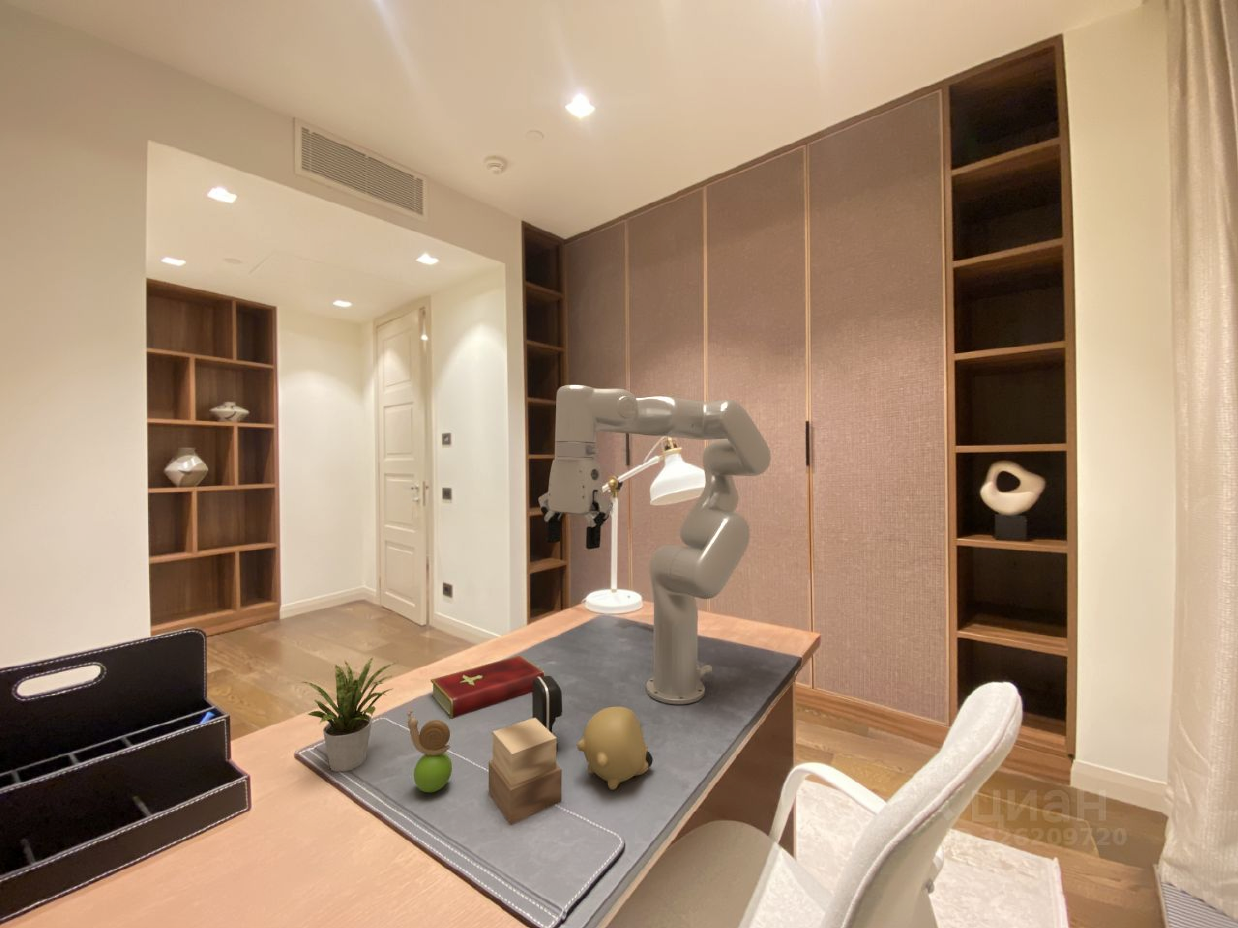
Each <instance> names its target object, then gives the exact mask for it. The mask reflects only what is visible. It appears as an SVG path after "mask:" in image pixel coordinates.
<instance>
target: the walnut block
mask: <svg viewBox="0 0 1238 928" xmlns="http://www.w3.org/2000/svg"><path fill="white" fill-rule="evenodd" d="M562 771H563V770H562V768H561V767H560V766H559V765H558V763H556V769H553V770H551V771H548V772H546V773H544V774H541V775H539V776H536V777H534V778H531V779H529V780H526V781H524V782H522V783H519V784H517V785H514V786H511V785H510V784H509V782H508V781H507V780H506V778H505V777H504V776H503V774H502V773H501V772H500V770H499V769H498V768H497V766H496V765H495V764H494V763H493V759H491V760H489V761H488V794H489V796H490V797H491V798H492V800H493V802H494V803H495V805H496V806H497V808H498V809H499V810H500V813H501V814H502V815H503V816H504V818H505V819H506V821H507V822H508V824H509V825H510V826H511V825H513V824H516V823H519V822H520V821H522V820H525V819H526V818H529V817H531V816H533V815H535V814H538V813H539V812H542V811H544V810H547V809H548V808H551V807H552V806H555V805H556V804H559V803H561V802H562V782H563V781H562V779H563V778H562V774H563V773H562Z"/></svg>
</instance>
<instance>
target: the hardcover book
mask: <svg viewBox="0 0 1238 928" xmlns="http://www.w3.org/2000/svg"><path fill="white" fill-rule="evenodd" d="M543 676H547V675H546V671H544V670H543V669H541V667H539V666H537V665H536V664H534V662H531V661H529V660H528V659H527V658H525V657H524V656H523V655H516V656H512V657H509V658H505V659H502V660H498V661H493V662H491V663H486V664H482V665H479V666H475V667H472V668H468V669H464V670H460V671H458V672H457V671H456V672H453V673H450V674H445V675H442V676H438V677H436V678H435V677H434V678H431V679H430V682H431V683H432V689H433V690H432V692H433V693H432V697H433V698H434V699H435V700H436V701H437V702H438V703H439V704H440V706H441V707H442V708H443V709H444V710H445V712H446V713H447V714H449V719H450V720H451V719H454V718H457V717H460V716H464V715H466V714H469V713H472V712H475V711H476V712H477V711H478V710H482V709H485V708H487V707H491V706H494V705H497V704H500V703H503V702H506V701H509V700H512V699H515V698H519V697H521V696H525V695H528V694H532V685H533V679H534V678H537V677H543Z"/></svg>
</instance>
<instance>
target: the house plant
mask: <svg viewBox="0 0 1238 928" xmlns="http://www.w3.org/2000/svg"><path fill="white" fill-rule="evenodd" d="M373 658H374V657H371V658H370V659H369V660H368V661H367V663H366V664H365V665H364V667H363V669H362V671H361V673H360V674H359V678H355V679H354V672H353V671H352V668H351V666H350V665H349V663H348V662H347V661H346V660H344V664H345V668H346V671H347V676H346V673H345V671H344V669H342V668H341V667H340V666H339V665H338V664H334V665H335V666H334V674H335V675H334V677H335V684H336V686H335V687H336V704H335V702H334V701H333V699H332V697H331V696H329V694H328V692H326V691H325V690H324V689H323V688H321V687H320V686H318V685H317V684H314V683H311V682H309V681H301V683H304V684H306V685H308V686H310V687H312V688H313V689H314V690H316V691H317V693H316V695H318V696H319V695H320V696H321V697H323V698H324V700H325V701H326V702H327V703H328V704H329V706H331V708H332V709H333V710H334V711H333V710H332V709H330V708H329V707H328V706H327V705H326V704H324V703H323V702H322V701H320V700H318V699H314V702H315V703H316V704H317V706H318V707H319V709H320V710H321V711H320V710H315V711H311V712H309V713H307V715H308V716H311V717H317V718H319V719H321V720H320V721H319V723H318V725H320V724H322V723H324V722H328V723H327V724H326V725H325V726H324V727H323V729H322V732H323V738H324V743H325V747H326V748H325V749H326V753H327V758H328V764H329V768H331V769H330V770H331V771H333V772H347V771H351V770H355V769H356V768H358V767H359V766H361V765H362V764H364V763H365V761H366V757H367V751H368V747H369V746H368V745H369V741H370V735H371V734H370V733H371V728H372V724H373V723H372V722H373V719H372V716H373V714H374V713H375V711H376V707H375V706H374V704H375V703H376V702H377V700H379V698H381V697H382V696H383V695H384V696H386V693H387V692H389V691H392V690H393V688H389V689H386V690H383V691H382V692H374V690H375V689H376V688H377V687H378V686H379V685H381V684H384V683H383V681H384V680H386V679H389V678H391V677H392V675H388V676H387V675H386V676H385V677H383V678H381V679H379V680H378V681H374V680H375V679H376V678H377V677H378V676H379V675H380V674H381V673H382V672H383V671H385V670H386V669H387V668H389V667H391V666H395V665H397V664H398V662H394V663H390V664H386V665H384V666H383V667H381V668H380V669H378V670H377V671H375V672H374V673H373V675H371V677H370V678H369V679H368V681H367V683H366V684H365V682H366V678H367V676H368V674H369V671H370V669H371V663H372V662H373ZM364 684H365V686H364ZM371 685H373V687H371V689H370V691H369V693H368V694H367V696H366V697H365V698H364V699H363V696H364V695H365V693H366V692H367V691H368V689H369V687H370V686H371ZM363 686H364V688H363ZM374 697H375V698H374ZM373 698H374V699H373ZM362 699H363V700H362ZM371 699H373V700H372V701H371V702H370V703H369V705H368V707H366V708H365V709H364V710H362V709H363V708H364V706H365V705H366V704H367V703H368V702H369V701H370V700H371ZM361 700H362V701H361ZM360 702H361V703H360ZM335 712H336V713H335ZM367 713H368V714H370V715H368V714H367Z"/></svg>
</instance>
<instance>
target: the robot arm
mask: <svg viewBox="0 0 1238 928" xmlns="http://www.w3.org/2000/svg"><path fill="white" fill-rule="evenodd" d="M555 399H556V402H555V403H556V408H555V409H556V410H555V437H554V440H555V441H554V459H553V460H552V463H551V467H550V473H549V480H548V481H549V482H548V491H547V492H546V493H544V494H542V495H541V496H539V497H538V503H539V506H540V510H541V511H540V512H541V513H542V515H543V517H544V518H543V519H544V521H545V523H546V543H548V544H554V543H559V542H561V536H562V534H561V533H562V532H561V531H562V522H561V520H559V519H560V518H561V516H562V515H563V514H567V515H576V516H584V518H585V520H586V521H587V523H588V524H589V526H586V534H585V535H586V538H585V541H586V542H585V548H586V549H587V550H595V549H599V548H600V546H601V535H602V534H601V533H602V532H601V529H602V528H601V527H602V526H604V525H605V522H606V520H608V518H609V517H610V514H611V511H612V509H613V507H614V503H613V502H612V501H611V500H609V498H607V497H606V496H604V494H603V492H604V491H603V490H604V489H603V477H602V471H601V465H600V461H599V460H596V455H598V454H599V453H600V448H599V447H598V446H597V432H606V433H619V434H632V435H642V436H651V437H667V438H681V439H690V440H699V441H704V440H705V441H706V440H707V441H708V440H709V441H711V440H714V441H712V442H709V443H708V444H707V445H706V447H705V448H704V450H703V453H702V466H703V470H704V477H705V478H704V479H705V484H704V488H703V490H702V493H701V494H700V496H699V497H698V499H697V500H696V502H695V503H694V505H693V506H692V507H691V509H690V510H689V512H688V513H687V515H686V516H685V518H684V519H683V521H682V523H681V525H680V528H679V537H680V540H681V541H682V542H683V544H684V545H686V546H684V545H679V544H665V545H662V546H659V547H658V548H657V549H656V550H655V551H654V552H653V553H652V556H651V557H650V559H649V566H648V567H649V568H648V569H649V577H650V583H651V589H652V597H653V600H652V601H653V654H652V655H653V667H652V668H653V672H652V673H653V674H652V675H653V676H652V677H651V678H649V679H648V681H647V682H646V685H645V686H646V687H645V689H646V693H647V694H648V696H650V697H651V698H652V699H654V700H656V701H658V702H661V703H665V704H668V705H669V704H671V705H687V704H693V703H695V702H698V701H699V700H701V699H703V697H704V695H705V691H706V690H705V685H704V684H703V682H702V680H701V679H703V678H704V676H705V677H706V676H708V675H712V674H713V667H712V666H711V665H709V664H706V665H703V666H702V667H700V665H699V664H698V641H699V640H698V636H699V635H698V625H699V623H698V621H699V611H698V605H697V600H696V598H698V599H702V600H711V599H713V598H715V597H717V596H718V595H719V594H720V593H721V592H722V591H723V589H724V588H725V587H726V585H727V583H728V582H729V580H730V578H731V577H732V575H733V573H734V572H735V570H736V568H737V566H738V565H739V563H740V561H741V560H742V558H743V556H744V555H745V553H746V551H747V549H748V546H749V543H750V536H751V535H750V534H751V530H750V525H749V523H748V521H747V520H746V518H745V517H744V515H742V514H740V513H738V512H737V511H736V509H737V507H738V504H739V494H738V489H737V486H736V484H735V481H734V480H735V479H734V477H733V476H740V477H741V476H742V477H743V476H744V477H757V476H760V475H763V474H764V473H765V472H766V471H767V470H768V469H769V467H770V464H771V459H772V458H771V457H772V456H771V450H770V448H769V445H768V443H767V441H766V440H765V437H764V436H763V435H762V432H760V430H759V428H758V427H757V425H756V424H755V422H754V421H753V419H752V418H751V416H750V415H749V414H748V412H747V410H746V409H745V408H744V407H743V406H742V405H741V404H740V403H739V402H737V401H735V400H733V399H720V400H714V401H699V400H698V401H697V400H692V399H687V398H680V397H679V398H678V397H674V396H668V395H667V396H665V395H662V396H660V395H659V396H649V397H640V398H639V397H638V398H637V397H635V395H634V394H633V393H632V392H630V391H628V390H626V389H623V388H616V387H615V388H595V387H592V386H588V385H582V384H566V385H563V386H560V387H559V388H558V389H557V391H556V398H555Z"/></svg>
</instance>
